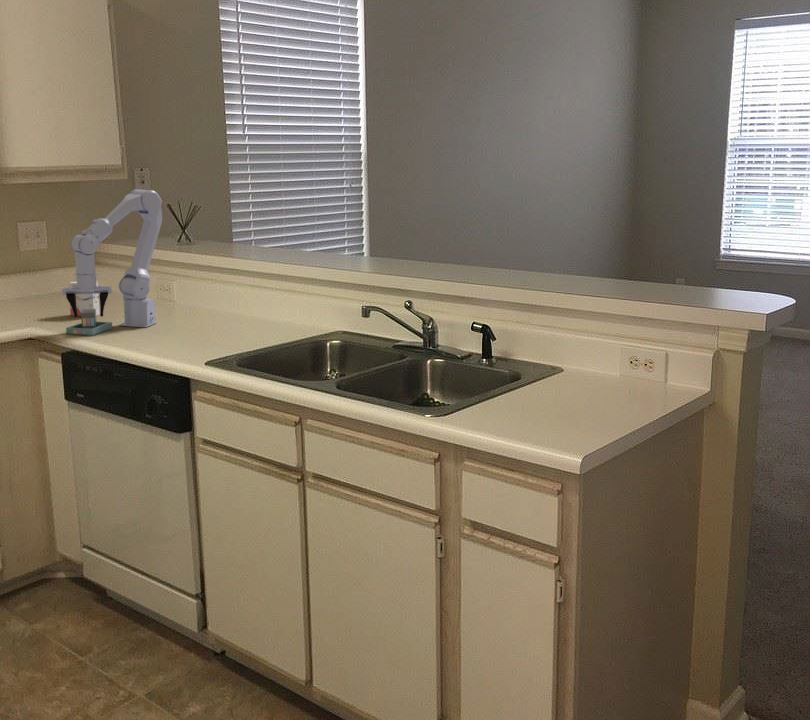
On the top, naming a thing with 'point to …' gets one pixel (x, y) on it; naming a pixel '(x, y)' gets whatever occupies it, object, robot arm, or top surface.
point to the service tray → (79, 330)
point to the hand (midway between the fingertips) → (89, 316)
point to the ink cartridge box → (85, 300)
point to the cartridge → (88, 318)
